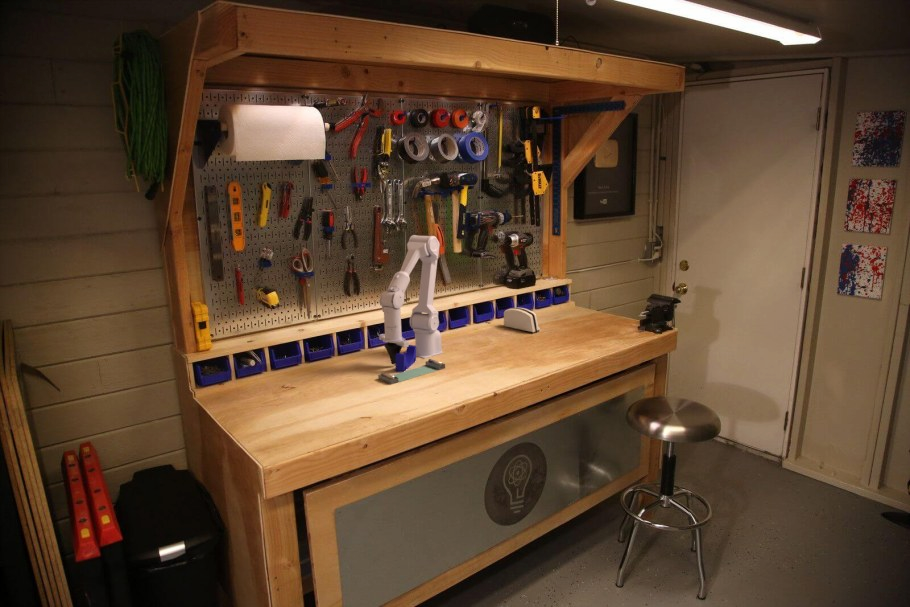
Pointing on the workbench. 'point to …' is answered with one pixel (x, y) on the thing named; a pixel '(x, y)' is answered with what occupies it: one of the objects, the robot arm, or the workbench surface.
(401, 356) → the blue curved cradle
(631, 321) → the workbench surface
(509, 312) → the white rounded dark-edged part
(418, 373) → the pad
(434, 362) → the chain end
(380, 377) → the block
